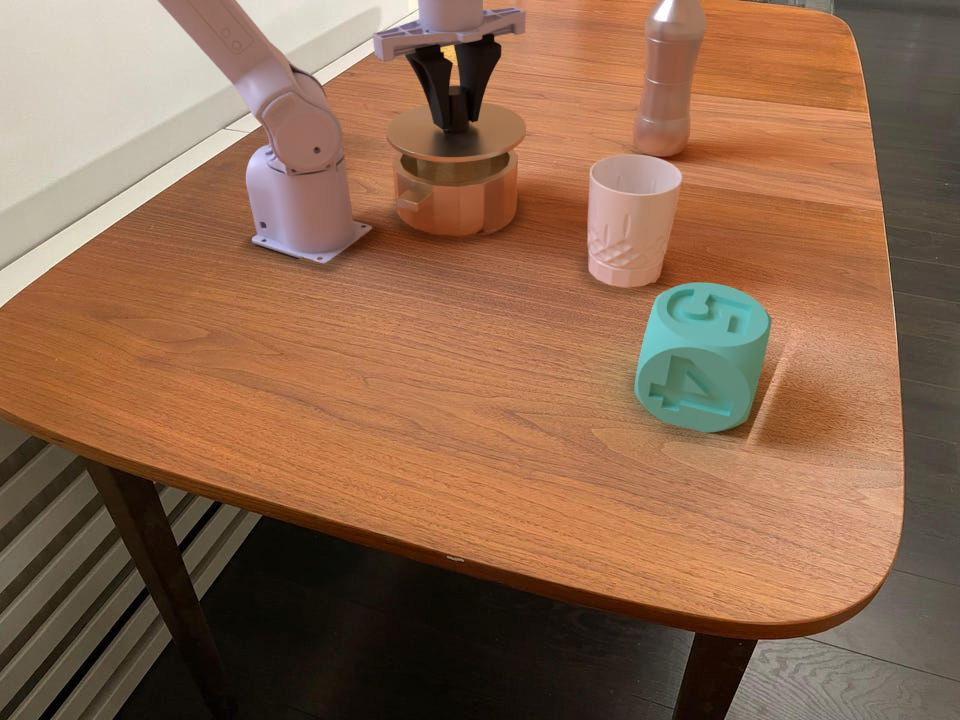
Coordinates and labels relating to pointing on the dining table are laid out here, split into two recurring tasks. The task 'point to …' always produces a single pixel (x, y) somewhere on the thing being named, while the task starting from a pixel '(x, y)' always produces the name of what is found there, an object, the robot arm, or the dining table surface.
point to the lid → (456, 131)
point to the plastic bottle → (668, 76)
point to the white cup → (630, 217)
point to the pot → (456, 194)
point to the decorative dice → (702, 356)
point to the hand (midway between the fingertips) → (455, 122)
